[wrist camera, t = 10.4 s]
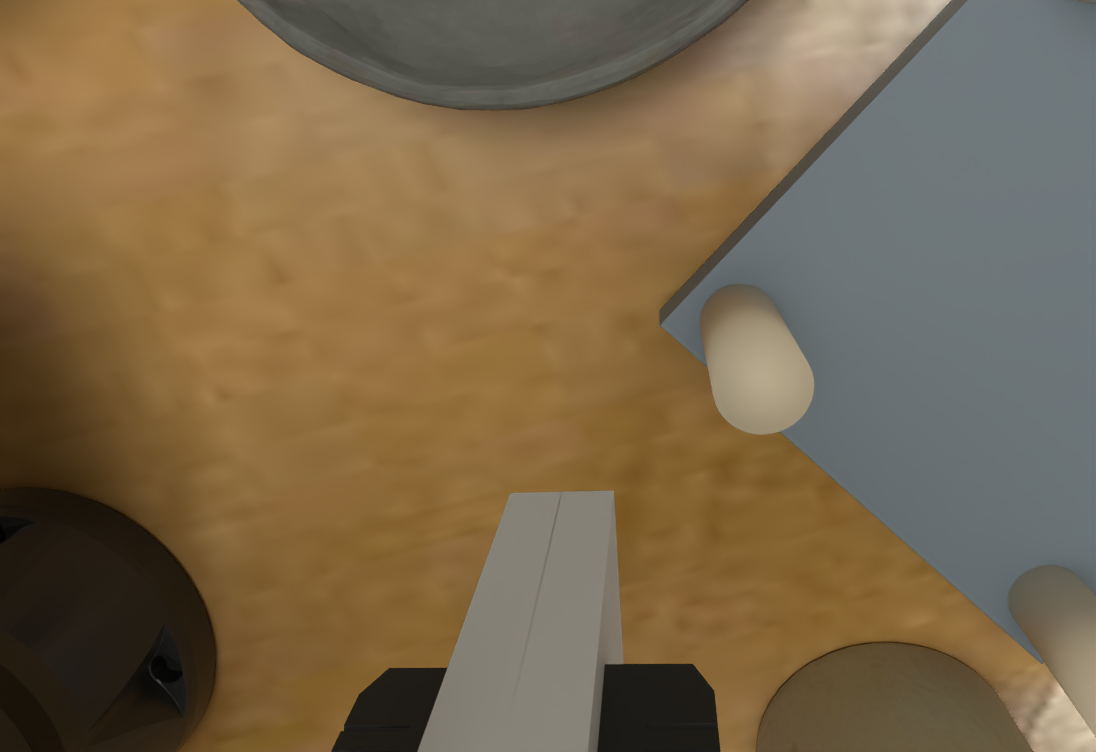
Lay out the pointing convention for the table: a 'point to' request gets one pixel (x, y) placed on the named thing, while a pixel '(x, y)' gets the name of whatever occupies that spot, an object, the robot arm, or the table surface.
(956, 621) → the table surface
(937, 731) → the teapot
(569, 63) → the bowl
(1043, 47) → the stool seat
